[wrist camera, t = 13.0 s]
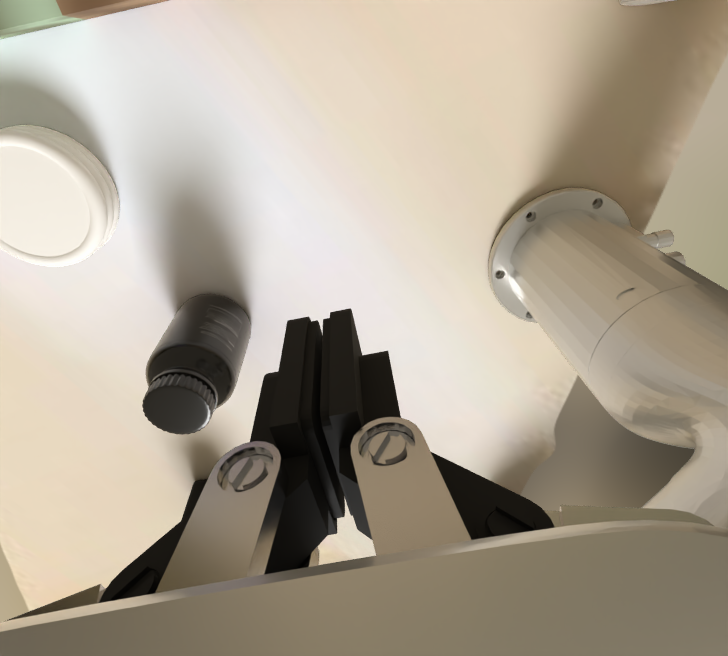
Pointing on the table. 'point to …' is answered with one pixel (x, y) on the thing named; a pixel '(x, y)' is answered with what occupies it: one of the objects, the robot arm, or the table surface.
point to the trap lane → (56, 13)
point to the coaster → (53, 197)
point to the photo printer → (641, 2)
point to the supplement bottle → (196, 363)
